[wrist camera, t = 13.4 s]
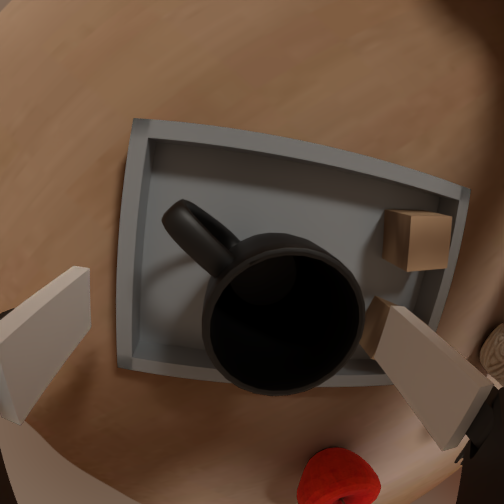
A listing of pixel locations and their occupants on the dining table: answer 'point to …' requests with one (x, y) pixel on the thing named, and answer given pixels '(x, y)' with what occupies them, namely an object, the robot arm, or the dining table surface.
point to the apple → (338, 479)
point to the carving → (494, 354)
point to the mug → (270, 304)
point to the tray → (261, 232)
